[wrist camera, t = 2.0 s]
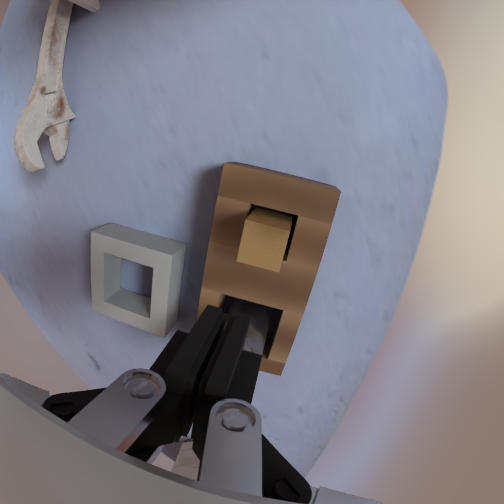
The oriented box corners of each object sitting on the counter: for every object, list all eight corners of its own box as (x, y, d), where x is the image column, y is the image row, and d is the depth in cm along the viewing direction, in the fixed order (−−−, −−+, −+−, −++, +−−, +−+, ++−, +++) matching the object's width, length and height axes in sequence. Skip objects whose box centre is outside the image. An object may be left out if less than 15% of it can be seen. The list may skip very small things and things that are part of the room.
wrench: (95, -29, 22) (78, 168, 28) (85, -24, 22) (67, 172, 28) (63, -53, 14) (23, 168, 20) (52, -46, 15) (13, 173, 20)
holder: (110, 222, 30) (91, 231, 26) (186, 243, 29) (172, 255, 26) (108, 295, 33) (92, 309, 29) (177, 320, 32) (164, 337, 29)
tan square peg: (256, 206, 24) (245, 219, 20) (292, 215, 24) (290, 231, 20) (249, 240, 26) (236, 261, 21) (283, 249, 25) (279, 272, 21)
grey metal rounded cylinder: (235, 286, 29) (196, 364, 18) (276, 297, 29) (257, 381, 18) (228, 320, 31) (191, 402, 20) (266, 330, 30) (244, 418, 19)
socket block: (234, 161, 26) (223, 163, 22) (335, 186, 25) (340, 191, 22) (202, 332, 32) (192, 350, 29) (283, 354, 31) (280, 375, 28)
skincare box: (182, 440, 40) (148, 518, 25) (215, 436, 38) (184, 523, 23) (212, 467, 42) (187, 540, 27) (244, 464, 40) (224, 544, 25)
